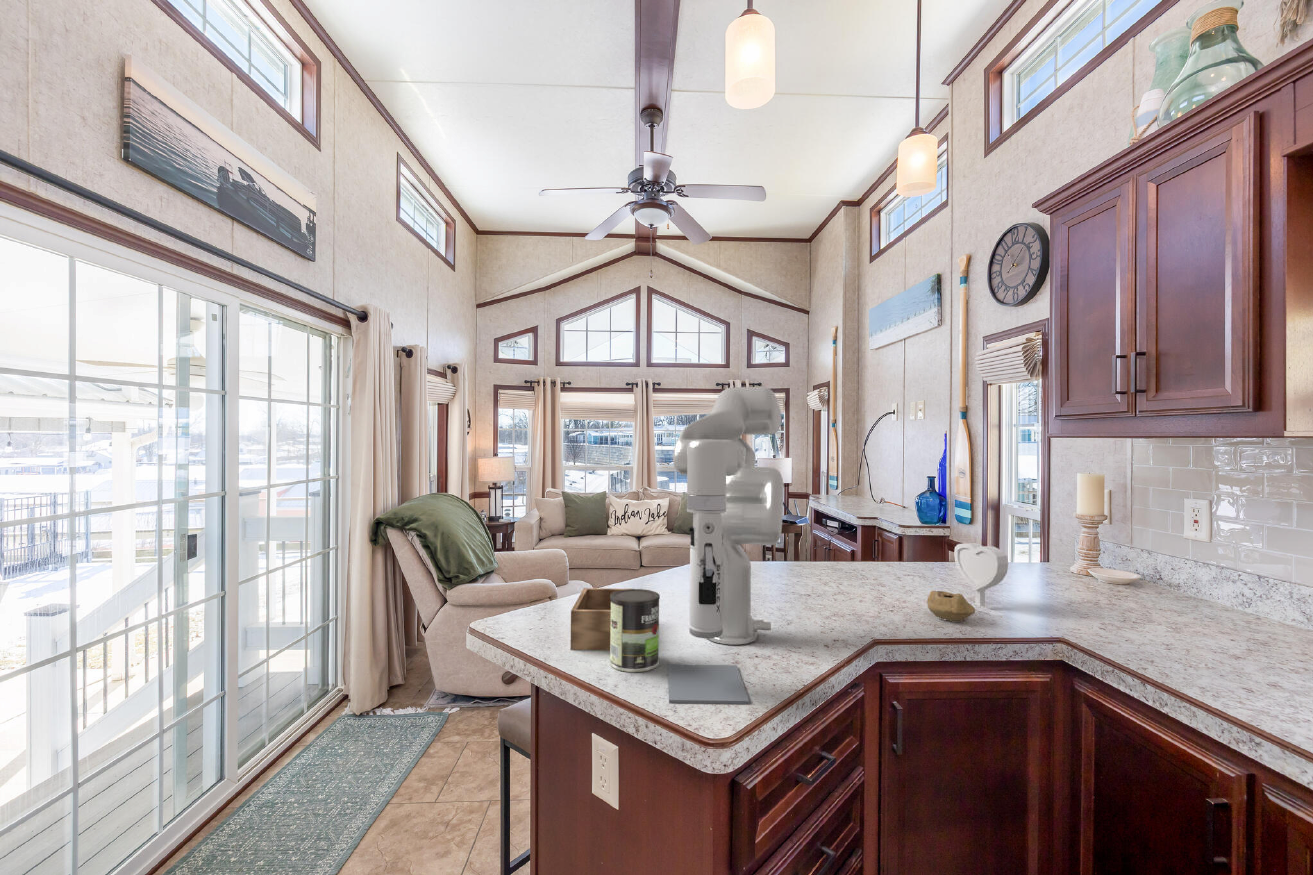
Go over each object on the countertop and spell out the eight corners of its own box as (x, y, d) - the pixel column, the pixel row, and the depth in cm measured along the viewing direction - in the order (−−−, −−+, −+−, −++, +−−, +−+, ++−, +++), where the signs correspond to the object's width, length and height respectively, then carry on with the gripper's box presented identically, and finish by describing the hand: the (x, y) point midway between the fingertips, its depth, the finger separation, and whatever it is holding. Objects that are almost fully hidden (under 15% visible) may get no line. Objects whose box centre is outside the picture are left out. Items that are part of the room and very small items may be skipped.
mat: (736, 667, 112) (736, 665, 112) (749, 703, 96) (749, 700, 96) (668, 666, 113) (668, 664, 113) (669, 702, 97) (669, 699, 97)
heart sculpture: (952, 601, 163) (951, 540, 164) (966, 600, 165) (966, 540, 165) (995, 617, 148) (995, 550, 149) (1010, 616, 150) (1010, 549, 150)
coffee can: (668, 660, 116) (668, 592, 117) (641, 676, 108) (641, 604, 108) (628, 650, 122) (628, 586, 122) (599, 665, 113) (600, 596, 113)
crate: (634, 622, 142) (634, 588, 142) (629, 650, 122) (629, 611, 122) (583, 621, 142) (583, 588, 142) (570, 649, 122) (570, 610, 122)
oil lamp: (944, 608, 156) (944, 580, 156) (986, 625, 142) (986, 594, 142) (910, 610, 154) (910, 582, 154) (949, 628, 139) (949, 596, 139)
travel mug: (685, 628, 107) (686, 525, 108) (719, 627, 108) (719, 525, 108) (690, 639, 101) (691, 529, 102) (725, 638, 102) (726, 529, 102)
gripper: (731, 508, 97) (731, 612, 96) (721, 500, 114) (720, 588, 113) (689, 508, 97) (688, 611, 96) (685, 500, 114) (684, 587, 113)
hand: (705, 598), depth 105 cm, fingers closed on travel mug, 6 cm apart
